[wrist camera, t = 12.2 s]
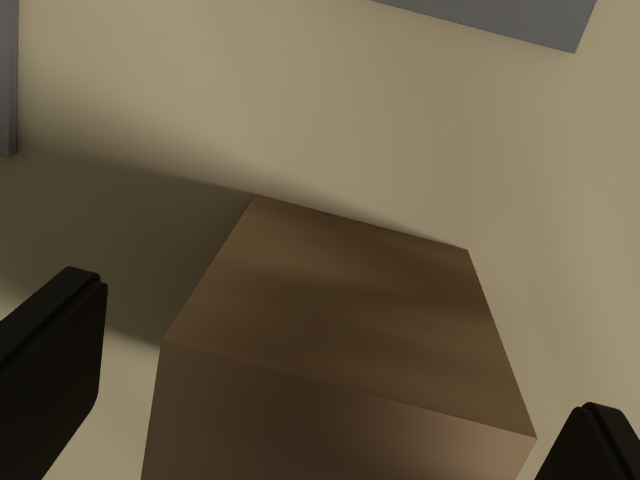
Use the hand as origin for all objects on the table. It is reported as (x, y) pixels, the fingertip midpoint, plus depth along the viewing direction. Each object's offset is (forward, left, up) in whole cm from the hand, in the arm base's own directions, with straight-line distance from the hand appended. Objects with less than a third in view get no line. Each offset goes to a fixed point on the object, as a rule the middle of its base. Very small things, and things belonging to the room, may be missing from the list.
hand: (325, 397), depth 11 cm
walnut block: (0, 0, -3) cm, 3 cm away
